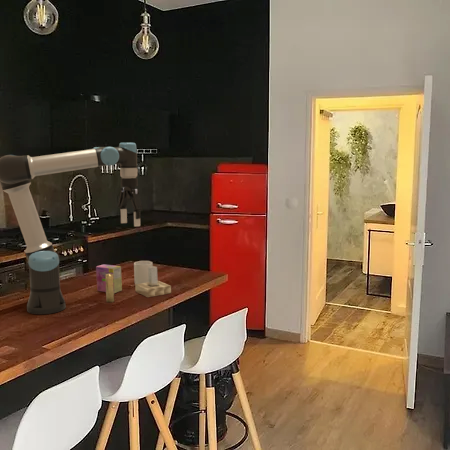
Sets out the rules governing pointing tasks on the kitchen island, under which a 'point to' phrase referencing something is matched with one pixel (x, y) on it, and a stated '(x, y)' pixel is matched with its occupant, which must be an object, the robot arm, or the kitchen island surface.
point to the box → (101, 277)
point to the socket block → (153, 289)
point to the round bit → (109, 288)
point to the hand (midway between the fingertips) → (130, 224)
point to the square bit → (152, 276)
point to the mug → (141, 271)
